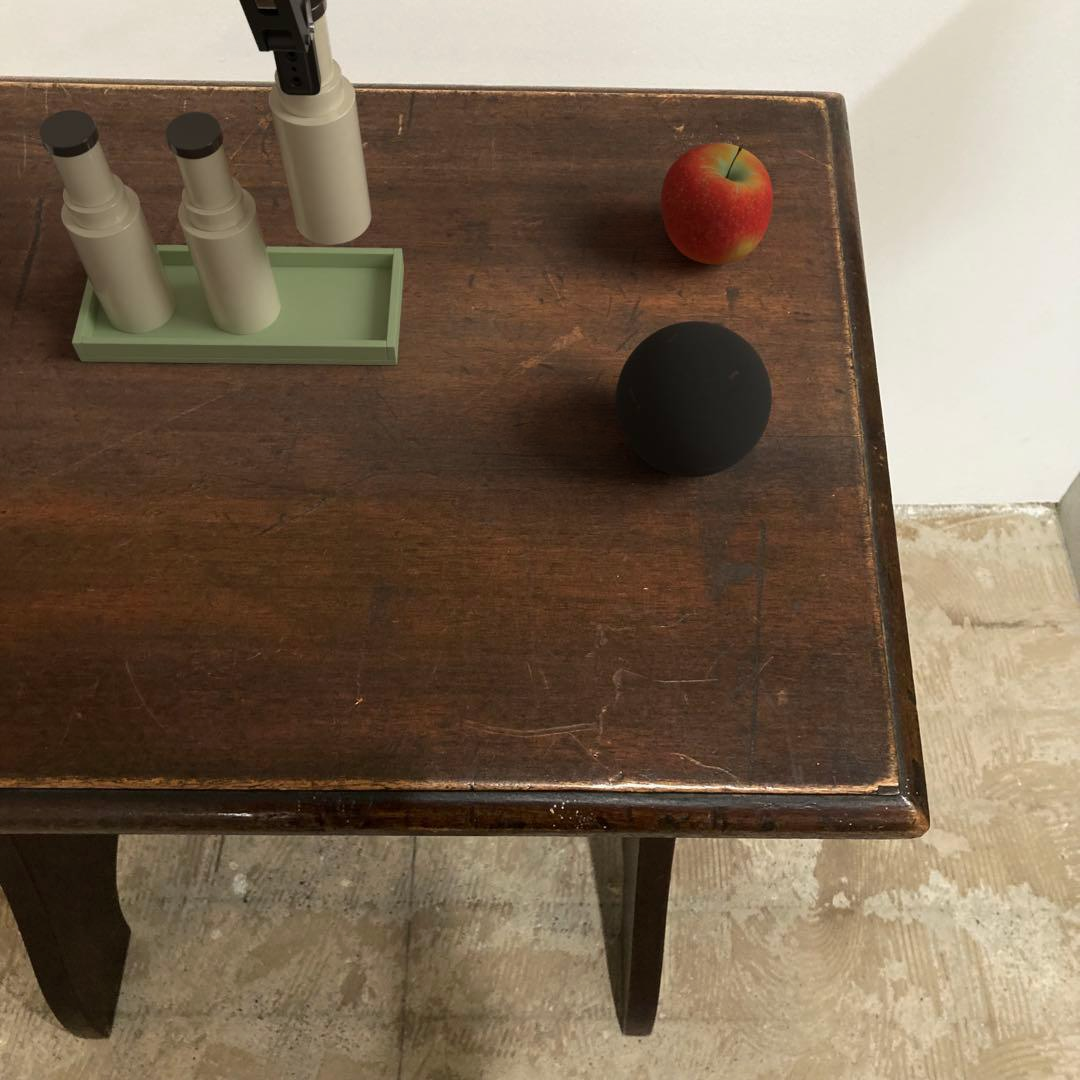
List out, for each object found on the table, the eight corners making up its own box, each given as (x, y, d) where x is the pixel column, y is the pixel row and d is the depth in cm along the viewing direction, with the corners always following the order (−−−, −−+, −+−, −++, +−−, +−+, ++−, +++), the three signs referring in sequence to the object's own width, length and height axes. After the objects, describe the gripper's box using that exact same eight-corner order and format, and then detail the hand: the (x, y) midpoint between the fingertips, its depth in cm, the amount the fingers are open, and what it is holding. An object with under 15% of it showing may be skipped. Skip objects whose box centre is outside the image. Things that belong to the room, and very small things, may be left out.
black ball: (583, 462, 78) (592, 370, 69) (654, 363, 82) (671, 265, 73) (714, 530, 75) (740, 444, 67) (780, 425, 80) (813, 331, 71)
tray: (81, 362, 81) (71, 342, 79) (105, 263, 85) (96, 243, 84) (397, 365, 81) (394, 346, 80) (404, 267, 86) (401, 247, 84)
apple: (662, 202, 90) (678, 96, 81) (764, 219, 89) (792, 114, 80) (646, 278, 86) (661, 176, 77) (753, 296, 85) (781, 195, 77)
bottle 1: (99, 333, 81) (15, 156, 67) (112, 279, 84) (33, 98, 70) (170, 334, 81) (101, 158, 68) (181, 280, 84) (116, 100, 70)
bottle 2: (206, 334, 82) (144, 158, 68) (215, 281, 84) (157, 101, 70) (276, 335, 82) (229, 160, 68) (284, 282, 84) (239, 102, 70)
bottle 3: (290, 244, 74) (240, 23, 60) (298, 188, 76) (252, -36, 62) (368, 245, 74) (337, 25, 60) (374, 190, 76) (344, -35, 62)
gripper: (183, -349, 53) (253, -12, 68) (131, -180, 47) (222, 154, 62) (344, -345, 54) (380, -9, 69) (317, -175, 47) (363, 157, 62)
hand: (305, 67), depth 65 cm, fingers closed on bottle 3, 3 cm apart
